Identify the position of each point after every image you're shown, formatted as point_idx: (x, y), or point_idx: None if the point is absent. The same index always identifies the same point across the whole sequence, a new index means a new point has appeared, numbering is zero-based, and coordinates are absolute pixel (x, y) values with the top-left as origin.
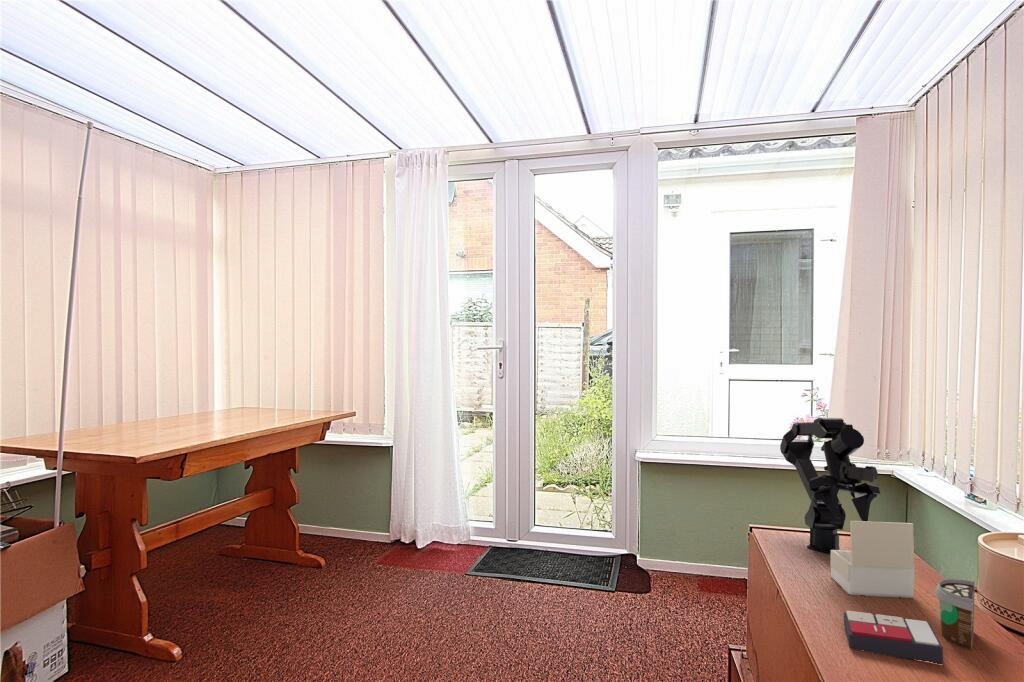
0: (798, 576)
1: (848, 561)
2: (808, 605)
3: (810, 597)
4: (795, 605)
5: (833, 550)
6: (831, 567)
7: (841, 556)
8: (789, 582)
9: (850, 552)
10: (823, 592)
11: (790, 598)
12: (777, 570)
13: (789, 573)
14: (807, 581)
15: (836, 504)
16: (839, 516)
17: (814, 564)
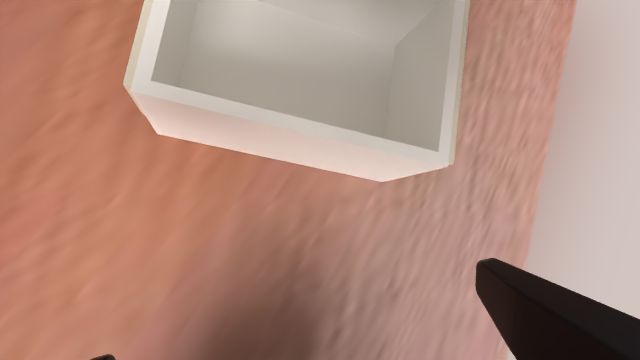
0: (479, 204)
1: (454, 14)
2: (539, 7)
3: (514, 50)
4: (566, 14)
5: (444, 156)
6: (402, 176)
7: (450, 75)
8: (524, 158)
9: (366, 136)
10: (465, 75)
11: (562, 54)
12: (520, 260)
13: (495, 232)
14: (471, 161)
15: (633, 323)
16: (489, 261)
17: (368, 327)
